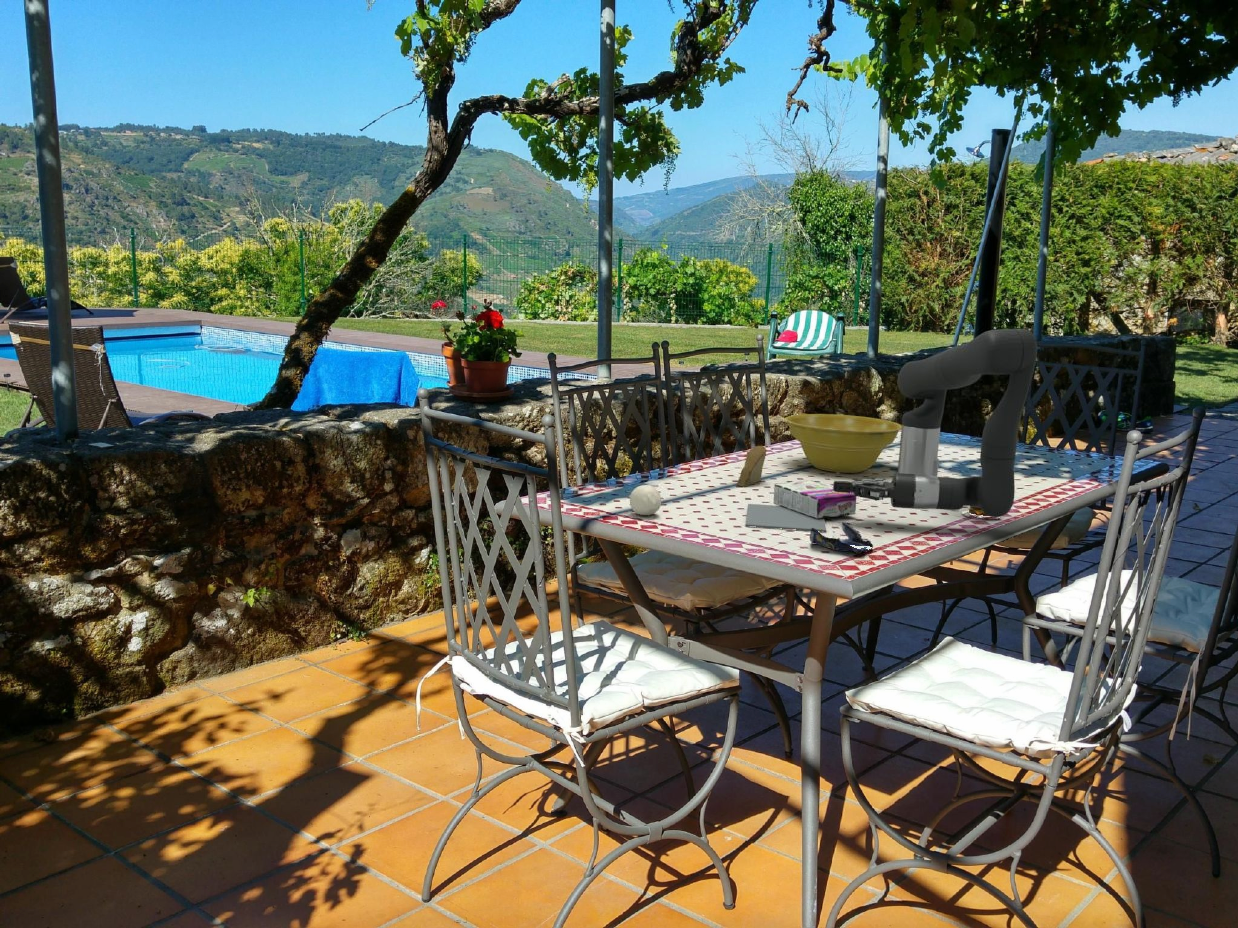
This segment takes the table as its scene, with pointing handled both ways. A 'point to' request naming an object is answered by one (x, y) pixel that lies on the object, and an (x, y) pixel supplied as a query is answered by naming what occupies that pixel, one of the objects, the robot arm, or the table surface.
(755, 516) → the mat
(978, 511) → the hamburger
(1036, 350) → the robot arm
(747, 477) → the rock
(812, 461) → the planter bowl
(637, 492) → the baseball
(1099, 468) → the table surface
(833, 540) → the snack package
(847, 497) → the candy bar box
